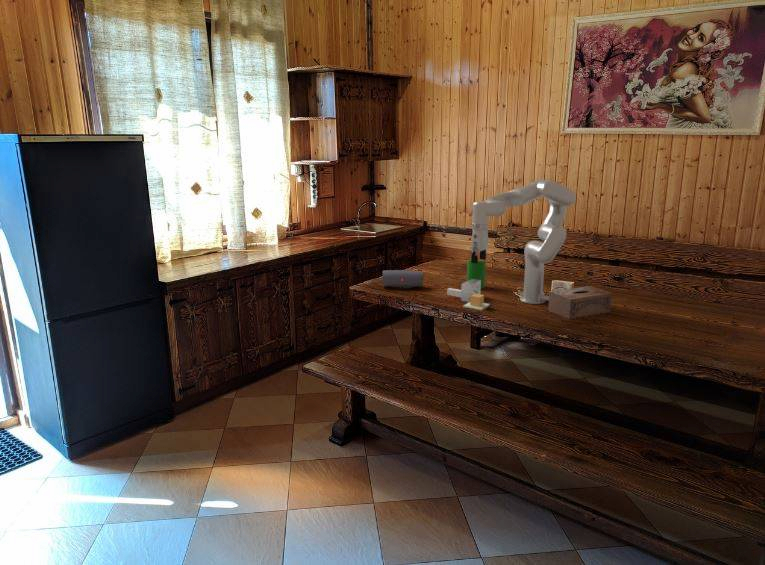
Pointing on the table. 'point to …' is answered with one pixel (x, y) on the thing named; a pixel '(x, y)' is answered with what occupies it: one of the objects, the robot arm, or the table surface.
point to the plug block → (476, 300)
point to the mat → (476, 307)
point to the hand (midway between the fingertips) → (478, 261)
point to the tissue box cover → (579, 301)
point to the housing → (470, 289)
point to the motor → (476, 271)
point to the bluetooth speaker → (402, 278)
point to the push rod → (455, 292)
